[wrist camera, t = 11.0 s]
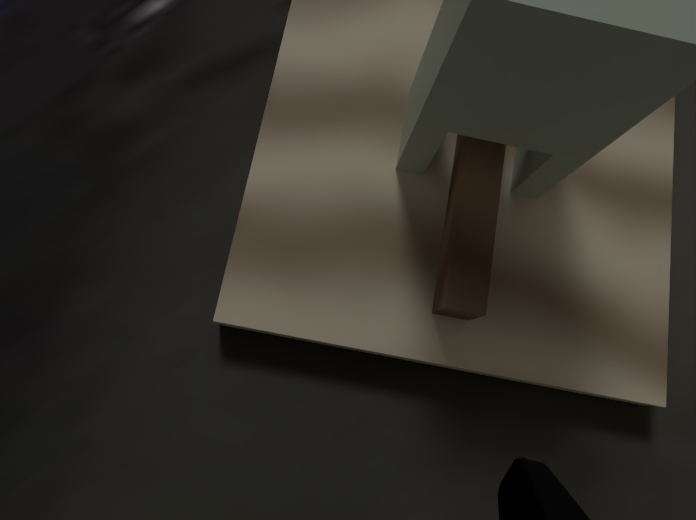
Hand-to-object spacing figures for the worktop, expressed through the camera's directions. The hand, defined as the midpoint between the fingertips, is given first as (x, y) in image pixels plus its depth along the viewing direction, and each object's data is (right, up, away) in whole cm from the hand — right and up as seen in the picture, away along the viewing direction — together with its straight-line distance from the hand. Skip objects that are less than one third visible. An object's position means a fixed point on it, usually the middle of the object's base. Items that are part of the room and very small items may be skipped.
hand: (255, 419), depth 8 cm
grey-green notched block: (+7, +8, +14) cm, 18 cm away
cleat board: (+7, +8, +16) cm, 19 cm away
